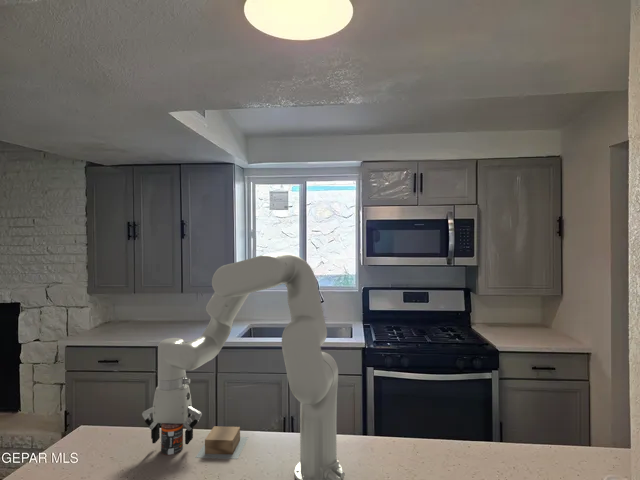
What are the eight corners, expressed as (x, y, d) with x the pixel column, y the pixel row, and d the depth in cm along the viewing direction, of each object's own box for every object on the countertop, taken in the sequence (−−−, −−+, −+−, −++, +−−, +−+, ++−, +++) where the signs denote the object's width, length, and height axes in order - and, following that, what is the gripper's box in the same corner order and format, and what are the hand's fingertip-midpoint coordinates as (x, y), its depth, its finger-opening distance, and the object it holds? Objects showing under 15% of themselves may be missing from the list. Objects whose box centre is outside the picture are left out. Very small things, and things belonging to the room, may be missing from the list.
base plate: (248, 440, 121) (248, 437, 121) (237, 462, 109) (237, 458, 109) (209, 439, 122) (209, 435, 122) (195, 461, 110) (195, 457, 110)
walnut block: (240, 440, 119) (240, 426, 119) (232, 454, 111) (232, 440, 111) (214, 439, 120) (214, 426, 120) (204, 453, 112) (204, 439, 112)
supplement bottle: (175, 459, 110) (175, 419, 110) (156, 457, 112) (156, 417, 111) (187, 448, 116) (186, 410, 116) (168, 446, 117) (168, 408, 117)
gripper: (205, 378, 117) (206, 436, 117) (149, 377, 118) (149, 434, 118) (196, 387, 110) (196, 449, 110) (136, 386, 111) (136, 447, 111)
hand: (172, 441), depth 114 cm, fingers open, 9 cm apart
